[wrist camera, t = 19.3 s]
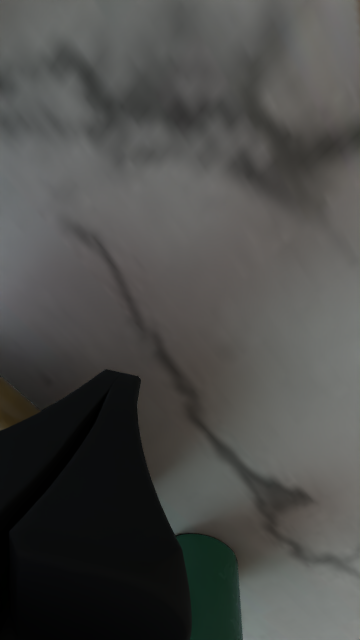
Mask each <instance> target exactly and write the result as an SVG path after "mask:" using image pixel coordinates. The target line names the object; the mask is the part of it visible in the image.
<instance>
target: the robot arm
mask: <svg viewBox="0 0 360 640" xmlns="http://www.w3.org/2000/svg"><path fill="white" fill-rule="evenodd" d="M140 383H141V379H140V378H139V376H135V375H130V374H126V373H121V372H116V371H112V370H107V369H106V370H104V371H102V372H101V373H99V374H98V375H97V376H95V377H94V378H92V379H91V380H90V381H88V382H87V383H85V384H84V385H82V386H81V387H79V388H78V389H76V390H75V391H73V392H72V393H70V394H69V395H67V396H66V397H64V398H63V399H61V400H59V401H58V402H56V403H54V404H53V405H51V406H49V407H47V408H46V409H44V410H42V411H41V412H39V413H37V414H35V415H33V416H31V417H29V418H27V419H25V420H23V421H21V422H19V423H17V424H14V425H12V426H10V427H8V428H6V429H3V430H1V431H0V640H190V637H191V630H192V612H191V599H190V591H189V584H188V578H187V572H186V567H185V561H184V556H183V551H182V548H181V546H180V544H179V542H178V540H177V538H176V536H175V534H174V532H173V530H172V528H171V526H170V524H169V522H168V520H167V518H166V515H165V513H164V511H163V508H162V506H161V504H160V502H159V499H158V496H157V493H156V491H155V488H154V485H153V482H152V480H151V477H150V474H149V471H148V467H147V464H146V460H145V456H144V452H143V448H142V443H141V438H140V432H139V425H138V414H137V401H138V395H139V389H140Z"/></svg>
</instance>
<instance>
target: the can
mask: <svg viewBox="0 0 360 640" xmlns="http://www.w3.org/2000/svg"><path fill="white" fill-rule="evenodd" d="M176 538H177V540H178V542H179V544H180V546H181V548H182V551H183V556H184V561H185V567H186V572H187V578H188V584H189V591H190V599H191V612H192V630H191V637H190V640H243V634H242V619H241V604H240V590H239V575H238V562H237V559H236V556H235V554H234V553H233V551H232V550H231V549H230V548H229V547H228V546H227V545H225V544H224V543H222V542H221V541H219V540H217V539H215V538H212V537H209V536H205V535H200V534H183V535H178V536H176Z"/></svg>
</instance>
